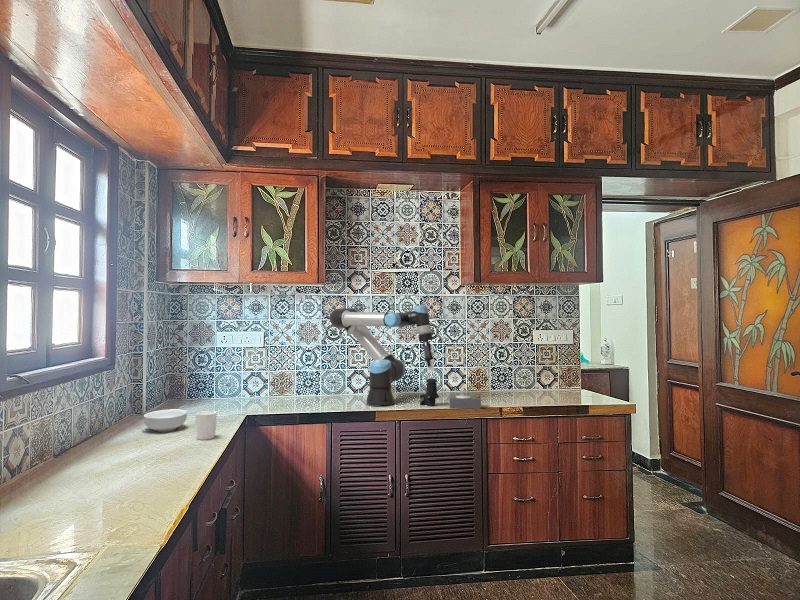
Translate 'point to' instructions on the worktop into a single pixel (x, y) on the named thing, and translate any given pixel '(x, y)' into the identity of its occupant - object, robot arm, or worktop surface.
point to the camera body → (465, 402)
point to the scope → (429, 393)
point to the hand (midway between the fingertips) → (431, 372)
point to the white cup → (206, 424)
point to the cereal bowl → (165, 419)
